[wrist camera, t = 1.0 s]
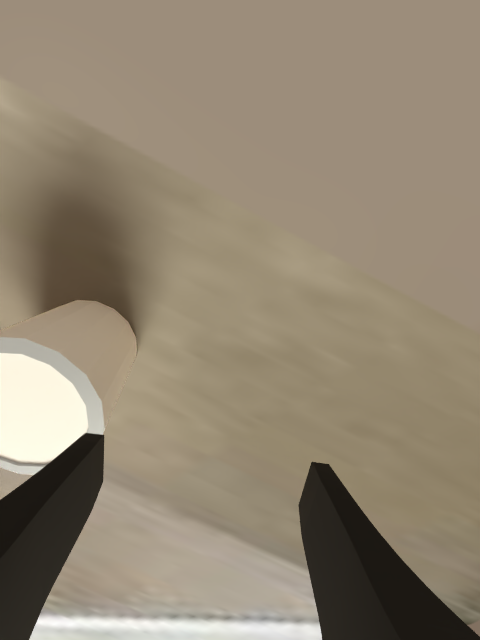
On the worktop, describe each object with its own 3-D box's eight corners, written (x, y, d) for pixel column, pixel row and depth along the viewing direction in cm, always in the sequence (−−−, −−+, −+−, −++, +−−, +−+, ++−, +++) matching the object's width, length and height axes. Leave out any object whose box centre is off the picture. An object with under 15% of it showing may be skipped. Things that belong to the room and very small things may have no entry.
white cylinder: (36, 276, 19) (-74, 318, 12) (155, 305, 19) (113, 360, 13) (31, 379, 21) (-63, 461, 14) (138, 401, 22) (95, 490, 15)
